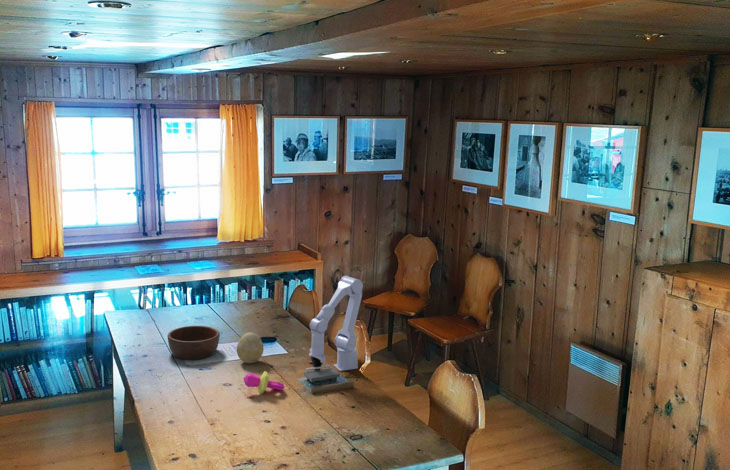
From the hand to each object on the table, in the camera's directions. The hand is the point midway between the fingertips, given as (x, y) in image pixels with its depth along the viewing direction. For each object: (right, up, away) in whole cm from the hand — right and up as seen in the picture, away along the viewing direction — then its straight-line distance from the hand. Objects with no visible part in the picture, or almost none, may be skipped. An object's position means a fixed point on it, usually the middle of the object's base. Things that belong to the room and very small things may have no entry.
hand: (317, 372), depth 314 cm
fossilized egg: (-33, +2, +13) cm, 36 cm away
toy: (-22, -5, -20) cm, 30 cm away
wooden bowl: (-63, +5, +23) cm, 67 cm away
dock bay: (+4, -4, -8) cm, 10 cm away
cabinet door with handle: (+2, -2, -5) cm, 6 cm away
